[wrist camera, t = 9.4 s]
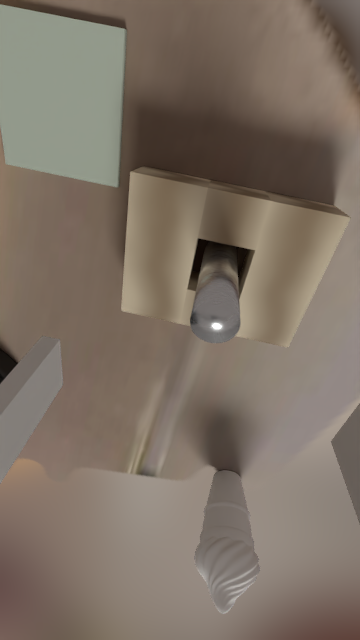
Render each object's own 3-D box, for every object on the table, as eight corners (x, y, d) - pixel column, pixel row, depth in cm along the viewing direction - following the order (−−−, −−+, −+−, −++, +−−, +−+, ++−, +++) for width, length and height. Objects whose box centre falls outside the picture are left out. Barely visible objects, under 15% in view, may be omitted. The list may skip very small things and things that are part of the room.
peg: (201, 264, 28) (186, 337, 18) (207, 234, 27) (195, 296, 17) (231, 270, 28) (233, 347, 18) (240, 240, 27) (246, 307, 17)
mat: (8, 163, 26) (5, 163, 26) (-14, 2, 20) (-18, 0, 20) (119, 186, 26) (117, 187, 25) (126, 30, 20) (125, 28, 20)
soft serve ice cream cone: (223, 455, 44) (220, 595, 31) (265, 478, 46) (279, 620, 33) (191, 476, 49) (176, 607, 35) (230, 497, 50) (231, 629, 37)
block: (132, 291, 31) (121, 310, 28) (143, 165, 24) (130, 171, 21) (281, 324, 31) (288, 347, 27) (334, 205, 24) (350, 217, 21)
